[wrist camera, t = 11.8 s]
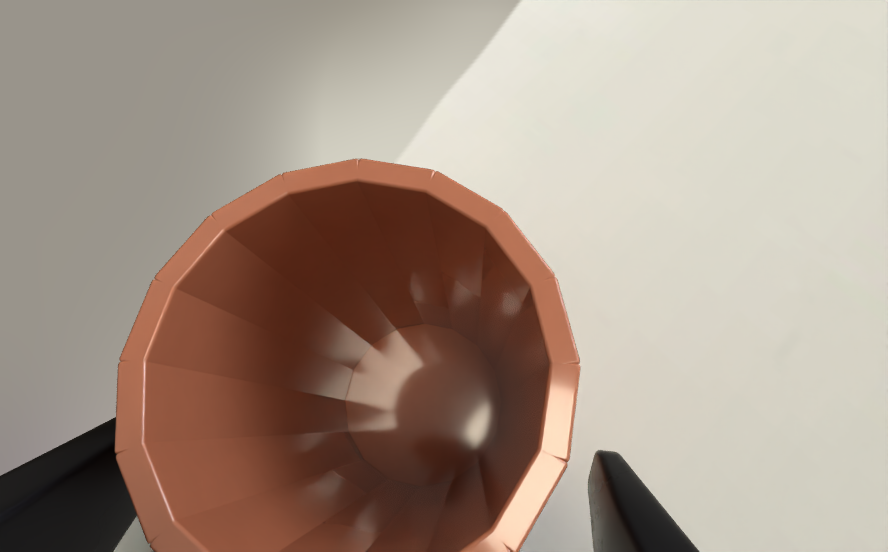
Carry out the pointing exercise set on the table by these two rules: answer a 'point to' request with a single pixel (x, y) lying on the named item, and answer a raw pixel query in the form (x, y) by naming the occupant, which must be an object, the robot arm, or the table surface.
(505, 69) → the table surface
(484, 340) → the pencil cup
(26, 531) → the robot arm
